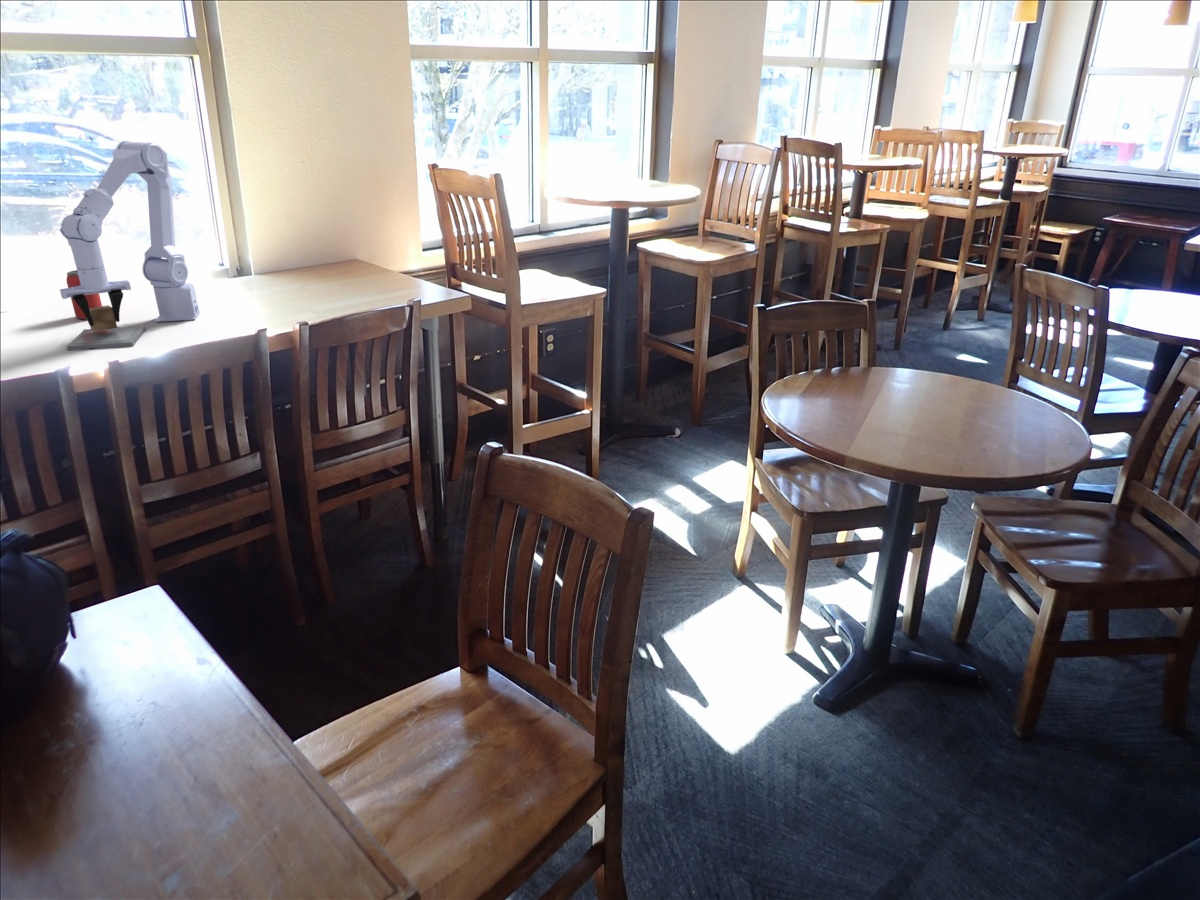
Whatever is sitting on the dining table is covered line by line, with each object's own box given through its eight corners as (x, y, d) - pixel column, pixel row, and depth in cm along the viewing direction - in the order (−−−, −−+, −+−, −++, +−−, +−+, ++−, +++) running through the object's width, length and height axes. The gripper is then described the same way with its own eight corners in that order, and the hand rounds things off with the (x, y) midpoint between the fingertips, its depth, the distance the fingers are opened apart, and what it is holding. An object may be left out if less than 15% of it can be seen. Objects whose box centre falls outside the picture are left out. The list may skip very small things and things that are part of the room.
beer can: (77, 315, 224) (65, 270, 219) (105, 312, 227) (94, 268, 221) (75, 321, 219) (62, 275, 213) (103, 318, 221) (92, 273, 216)
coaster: (146, 329, 212) (145, 325, 212) (133, 346, 200) (132, 341, 200) (85, 333, 209) (84, 329, 209) (68, 350, 197) (66, 345, 196)
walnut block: (113, 325, 209) (108, 305, 207) (117, 327, 205) (112, 307, 203) (91, 328, 206) (85, 308, 204) (94, 331, 202) (89, 310, 200)
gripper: (120, 260, 204) (133, 314, 210) (52, 268, 196) (67, 324, 202) (127, 265, 199) (140, 320, 205) (57, 273, 191) (73, 331, 197)
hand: (104, 322), depth 203 cm, fingers closed on walnut block, 5 cm apart
